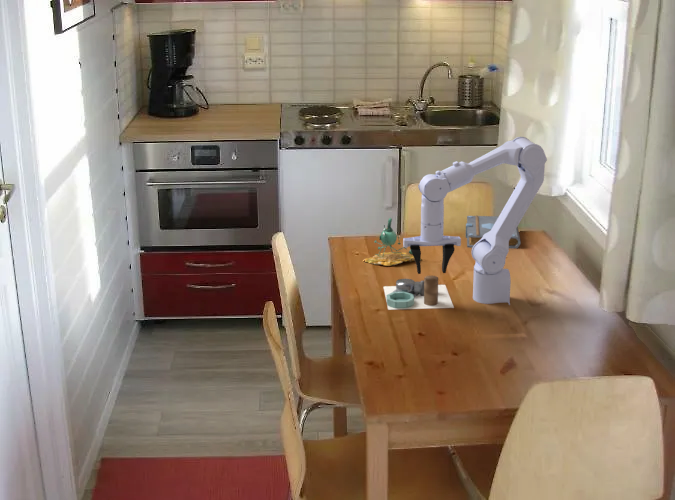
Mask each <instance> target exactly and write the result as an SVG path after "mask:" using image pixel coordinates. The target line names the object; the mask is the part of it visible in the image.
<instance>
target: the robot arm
mask: <svg viewBox="0 0 675 500" xmlns="http://www.w3.org/2000/svg"><path fill="white" fill-rule="evenodd" d="M547 161H548V159H547V156H546V153H545V150H544V149H543V147H542V146H541V145H539V144H537V143H535V142H533V141H532V140H531V139H529V138H527V137H525V136H517V137H515V138H514V139H512V140H507V141H505V142H504V143H503V144H501V145H500V146H498V147H496V148H494V149H493V150H491V151H489V152H487V153H486V154H483V155H481V156H480V157H477V158H475V159H474V160H472V161H470V162H465V161H457V160H456V161H453V162H452V165H451V166H449V167H447V168H444V169H443V170H436V171H435V172H434V173H435V174H434V173H432V174H431V173H428V174H426V175H424V176H423V177H422V179H421V180H420V181H419V184H417V185H418V186H417V187H418V188H417V189H418V190H419V192H420V193H421V205H420V235H419V236H411V237H403V240H402V244H403V245H402V247H404V248H403V249H405V248H406V249H408V248H410V249H411V252H412V254H413V255H412V256H414V259H415V261H414V262H415V266H416V271H417V275H421V273H422V270H421V269H422V267H421V260H420V259H422V258H421V256H422V255H421V254H422V251H421V247H438V246H440V247H441V246H442V260H441V261H442V263H441V272H442V273H443V274H446V273H447V268H448V265H449V262H450V260H451V258H452V256H453V255H454V253H455V246H456V247H461V245H462V238H461V237H460V236H452V235H444V225H445V224H444V220H445V219H444V216H445V215H444V214H445V210H444V209H445V204H444V200H445V198H446V197H447V195H448V194H449V193H450V192H453V191H455V190H457V189H459V188H461V187H464V186H465V185H468V184H469V183H472V181H473V179H474V177H475V176H477V175H479V174H481V173H483V172H485V171H488V170H491V169H493V168H495V167H497V166H500V165H502V164H507V165H510V166H516V167H517V169H518V173H519V175H520V179H519V181H518V182H517V184H516V186H515V187H514V189H513V191H512V193H511V195H510V197H509V198H508V200H507V201H506V203H505V205H504V206H503V209H502V210H501V212H500V214H499V217H498V219H497V221H496V222H495V224H494V226H493V227H492V229H491V231H489V232H487V233H486V234H484V235H483V237H482V238H481V240H480V241H478V242H477V243H476V244H475V245H474V246H473V248H471V257H472V259H473V260H474V261H475V264H474V265H473V285H472V299H473V301H474V302H476V303H479V304H485V305H491V304H499V303H507V304H508V305H509V306H511V303H510V301H511V280H512V279H511V274H510V273H511V272H510V269H508V268H504V267H505V265H506V258H507V256H508V254H509V251H510V250H509V249H510V248H509V240H510V238H511V237H512V235H513V233H514V231H515V230H516V228H517V226H518V227H519V224H520V222H521V221H522V219H523V218H524V216H525V214H526V212H527V211H528V209H529V208H530V206H531V204H532V202H533V200H534V199H535V197H536V195H537V193H538V192H539V190H540V188H541V187H542V185H543V183H544V181H545V167H546V163H547ZM410 249H409V250H410Z"/></svg>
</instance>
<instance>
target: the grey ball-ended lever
mask: <svg viewBox="0 0 675 500" xmlns="http://www.w3.org/2000/svg"><path fill="white" fill-rule="evenodd" d="M395 286H396V292H407V293H411V294H414V293H416V292H421V281H415V280H413V279H410V278H399V279H397V280H396V281H395Z"/></svg>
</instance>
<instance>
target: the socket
mask: <svg viewBox="0 0 675 500" xmlns="http://www.w3.org/2000/svg"><path fill="white" fill-rule="evenodd" d="M413 304H414V296H413V294H411V293H407V292H392V293H390V294H388V295H387V302H386V306H387V305H388V306H390V307H393V308H408V307H411V306H412V305H413ZM388 306H387V307H388Z"/></svg>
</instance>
